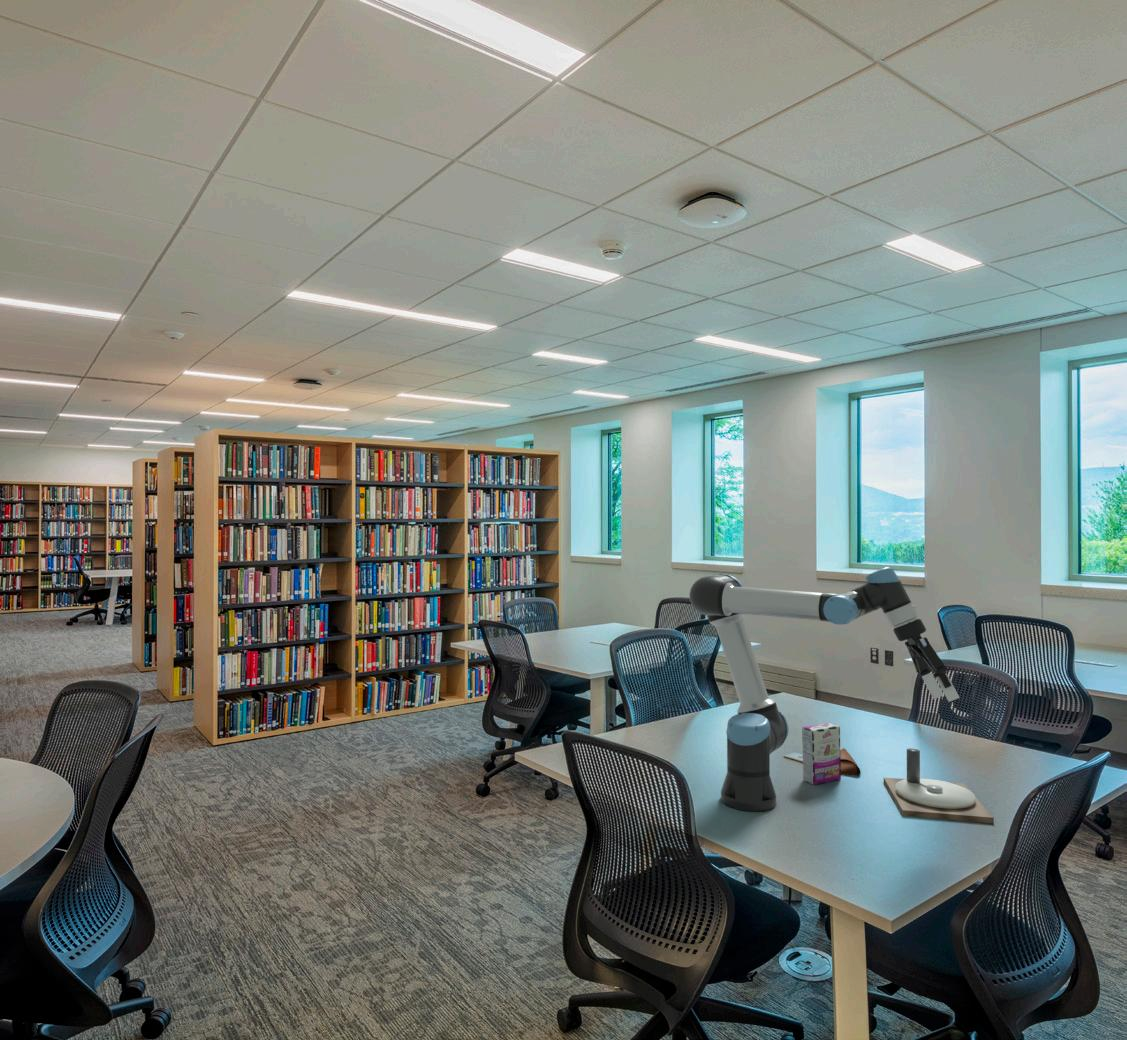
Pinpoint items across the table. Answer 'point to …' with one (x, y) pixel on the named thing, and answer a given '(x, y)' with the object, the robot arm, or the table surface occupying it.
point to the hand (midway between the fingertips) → (946, 698)
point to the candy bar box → (821, 753)
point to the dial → (931, 788)
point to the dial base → (917, 810)
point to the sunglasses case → (848, 764)
